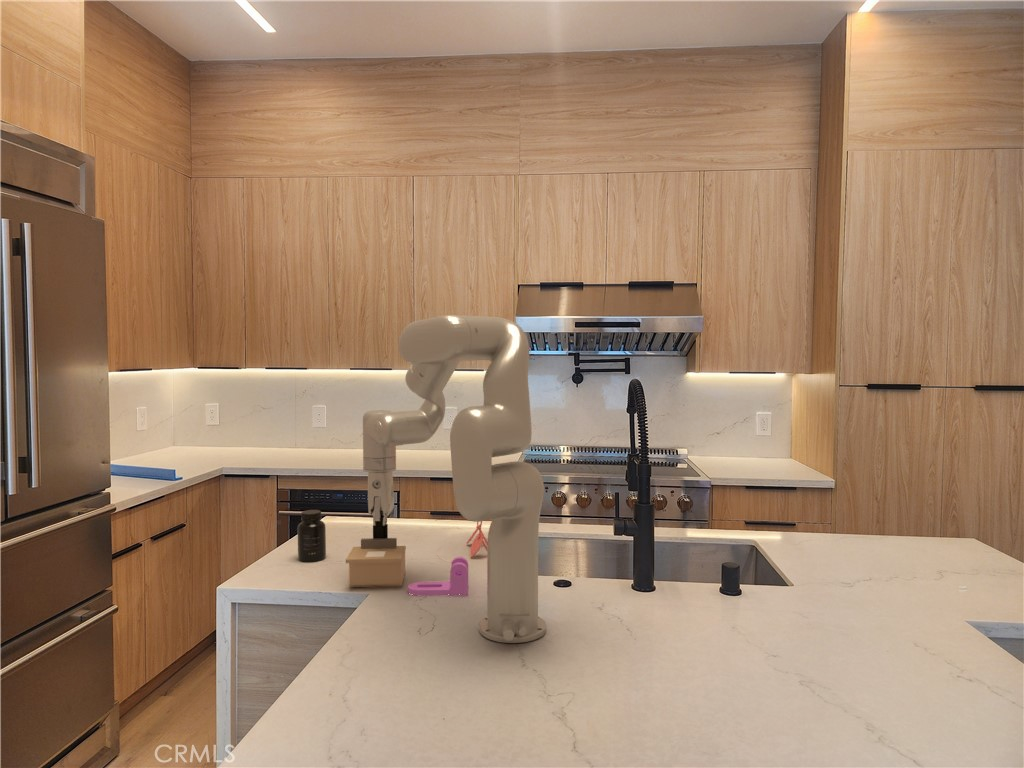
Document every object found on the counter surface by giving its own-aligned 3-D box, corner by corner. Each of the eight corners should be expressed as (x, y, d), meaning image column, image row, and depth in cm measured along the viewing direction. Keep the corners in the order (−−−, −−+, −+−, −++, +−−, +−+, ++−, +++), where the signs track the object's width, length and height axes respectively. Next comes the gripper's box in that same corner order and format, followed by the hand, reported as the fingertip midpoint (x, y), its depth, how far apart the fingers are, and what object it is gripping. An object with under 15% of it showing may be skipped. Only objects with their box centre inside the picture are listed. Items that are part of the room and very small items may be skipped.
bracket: (468, 587, 153) (468, 556, 152) (467, 596, 147) (467, 564, 147) (409, 588, 152) (409, 557, 152) (406, 596, 147) (406, 564, 146)
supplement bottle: (297, 556, 176) (297, 509, 175) (325, 553, 178) (324, 507, 177) (297, 563, 169) (297, 515, 169) (326, 561, 171) (326, 513, 171)
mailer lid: (401, 562, 150) (401, 549, 150) (345, 563, 149) (345, 550, 149) (405, 549, 160) (405, 537, 160) (353, 550, 159) (353, 538, 159)
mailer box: (401, 586, 152) (401, 560, 152) (349, 588, 152) (349, 561, 151) (405, 573, 162) (405, 548, 162) (356, 574, 161) (356, 549, 161)
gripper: (392, 469, 152) (392, 550, 153) (399, 458, 167) (400, 533, 168) (357, 469, 152) (358, 551, 153) (368, 459, 167) (369, 533, 168)
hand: (380, 541), depth 160 cm, fingers closed
